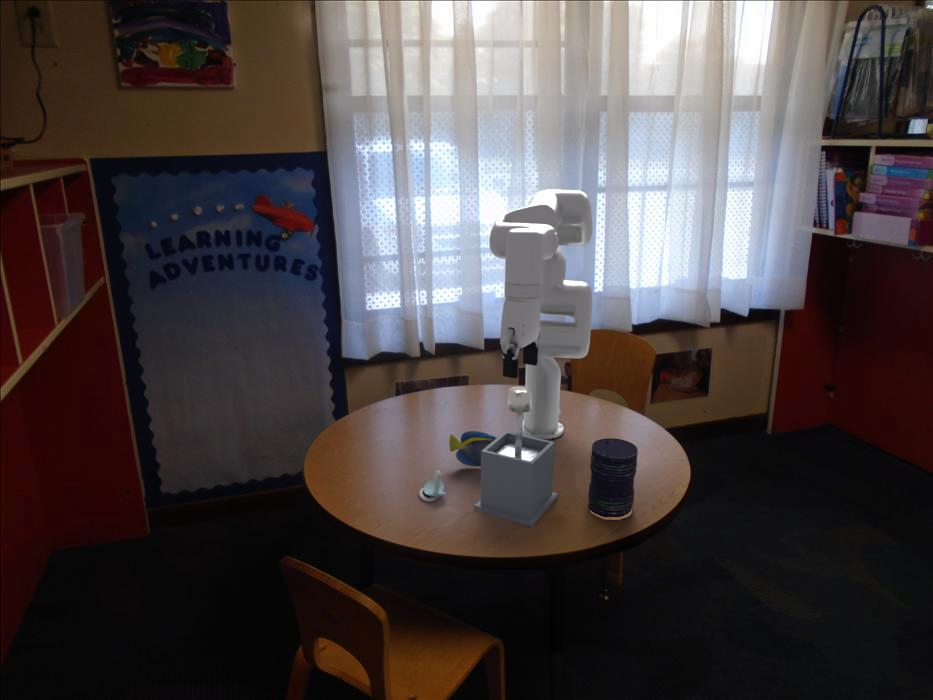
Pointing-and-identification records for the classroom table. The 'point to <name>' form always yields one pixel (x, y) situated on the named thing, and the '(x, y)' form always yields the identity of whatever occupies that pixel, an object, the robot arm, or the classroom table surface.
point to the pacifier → (433, 488)
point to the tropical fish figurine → (470, 446)
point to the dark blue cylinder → (612, 477)
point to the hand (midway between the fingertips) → (520, 370)
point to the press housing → (517, 481)
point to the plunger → (519, 424)
